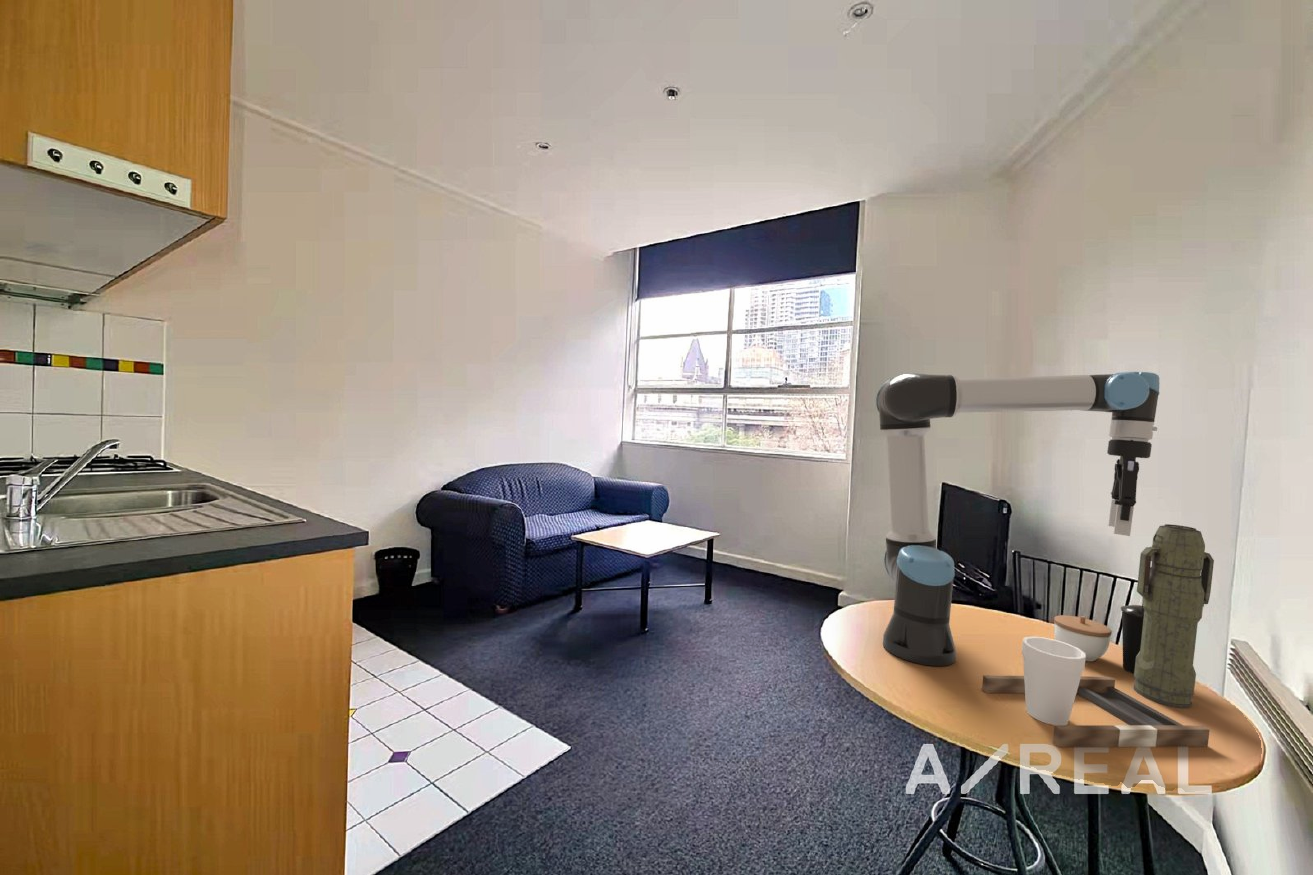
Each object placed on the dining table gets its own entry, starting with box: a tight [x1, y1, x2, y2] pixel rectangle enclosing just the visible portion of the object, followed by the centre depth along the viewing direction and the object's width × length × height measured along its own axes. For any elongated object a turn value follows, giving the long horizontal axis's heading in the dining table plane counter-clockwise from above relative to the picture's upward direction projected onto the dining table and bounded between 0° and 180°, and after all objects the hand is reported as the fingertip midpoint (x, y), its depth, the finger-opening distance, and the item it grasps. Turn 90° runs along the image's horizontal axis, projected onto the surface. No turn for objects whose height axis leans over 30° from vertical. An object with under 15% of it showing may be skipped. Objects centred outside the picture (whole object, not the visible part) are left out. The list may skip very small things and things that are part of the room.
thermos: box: [1133, 524, 1215, 709], centre depth 110 cm, size 9×12×35 cm
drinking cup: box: [1120, 598, 1144, 675], centre depth 121 cm, size 8×8×20 cm
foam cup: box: [1021, 635, 1086, 726], centre depth 100 cm, size 10×9×13 cm
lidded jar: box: [1053, 614, 1113, 662], centre depth 129 cm, size 11×11×9 cm
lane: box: [981, 674, 1210, 748], centre depth 101 cm, size 28×18×3 cm, turn 96°
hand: (1118, 530), depth 126 cm, fingers open, 13 cm apart
